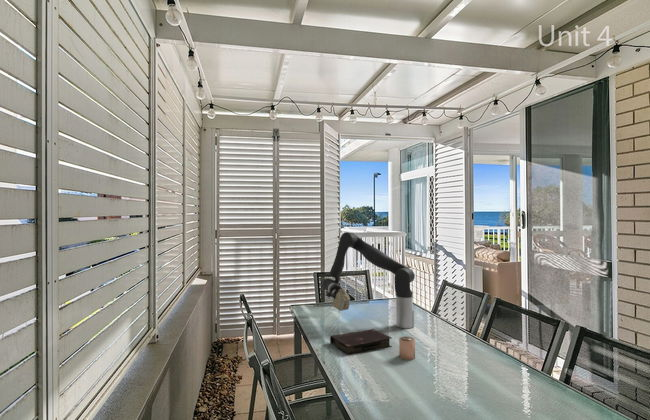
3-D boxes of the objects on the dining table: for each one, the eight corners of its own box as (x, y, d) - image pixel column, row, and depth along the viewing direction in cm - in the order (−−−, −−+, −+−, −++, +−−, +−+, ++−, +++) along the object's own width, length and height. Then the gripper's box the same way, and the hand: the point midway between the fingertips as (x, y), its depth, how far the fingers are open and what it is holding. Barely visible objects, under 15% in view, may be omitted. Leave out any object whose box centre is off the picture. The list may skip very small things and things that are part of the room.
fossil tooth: (339, 307, 213) (353, 311, 200) (329, 308, 210) (343, 312, 197) (338, 287, 215) (352, 289, 201) (329, 287, 212) (342, 289, 198)
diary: (329, 344, 187) (329, 334, 187) (372, 337, 198) (372, 328, 198) (347, 356, 170) (347, 345, 170) (393, 348, 181) (393, 338, 181)
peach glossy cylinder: (411, 353, 173) (411, 335, 173) (417, 359, 166) (417, 340, 166) (397, 354, 172) (397, 336, 172) (402, 360, 165) (402, 341, 165)
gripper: (322, 284, 222) (327, 290, 206) (346, 283, 224) (352, 289, 208) (323, 297, 222) (327, 303, 205) (346, 296, 224) (352, 302, 208)
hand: (340, 296), depth 207 cm, fingers closed on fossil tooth, 5 cm apart
